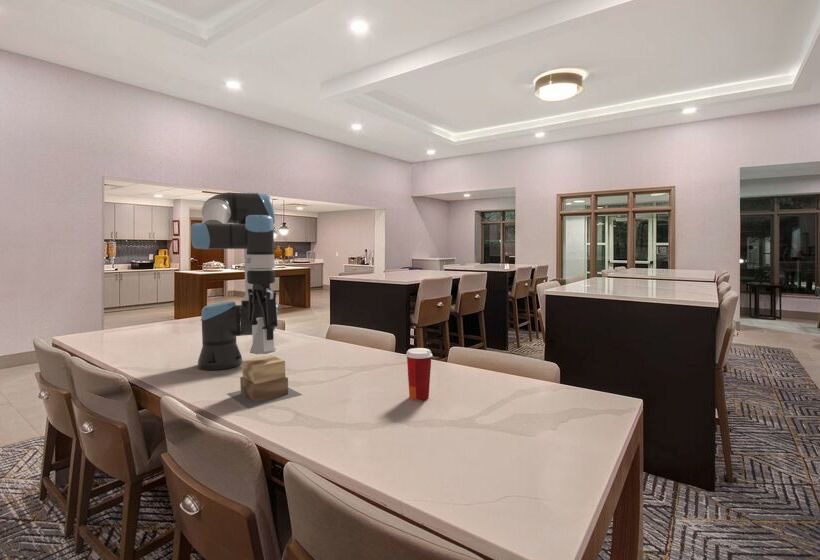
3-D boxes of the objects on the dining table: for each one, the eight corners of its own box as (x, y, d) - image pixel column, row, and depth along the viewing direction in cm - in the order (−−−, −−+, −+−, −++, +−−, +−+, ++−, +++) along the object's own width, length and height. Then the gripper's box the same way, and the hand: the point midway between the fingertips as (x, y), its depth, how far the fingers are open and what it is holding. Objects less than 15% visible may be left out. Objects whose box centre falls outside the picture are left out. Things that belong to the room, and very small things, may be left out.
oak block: (242, 377, 127) (242, 360, 126) (271, 371, 133) (271, 355, 132) (255, 384, 120) (254, 366, 120) (285, 377, 126) (285, 360, 126)
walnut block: (240, 393, 127) (240, 377, 127) (273, 386, 134) (272, 370, 134) (254, 402, 120) (254, 385, 119) (288, 394, 127) (287, 377, 126)
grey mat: (226, 397, 127) (226, 393, 127) (277, 385, 138) (277, 382, 138) (248, 412, 116) (248, 408, 116) (302, 397, 126) (302, 394, 126)
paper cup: (435, 394, 129) (435, 348, 128) (427, 403, 122) (427, 354, 121) (410, 392, 131) (410, 346, 130) (401, 400, 124) (401, 352, 123)
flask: (268, 355, 122) (267, 320, 121) (244, 354, 123) (243, 319, 122) (280, 349, 129) (279, 316, 128) (258, 348, 130) (257, 315, 129)
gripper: (234, 268, 129) (237, 344, 131) (263, 271, 114) (265, 357, 116) (259, 268, 134) (261, 341, 136) (289, 270, 119) (291, 352, 121)
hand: (263, 348), depth 126 cm, fingers closed on flask, 7 cm apart
